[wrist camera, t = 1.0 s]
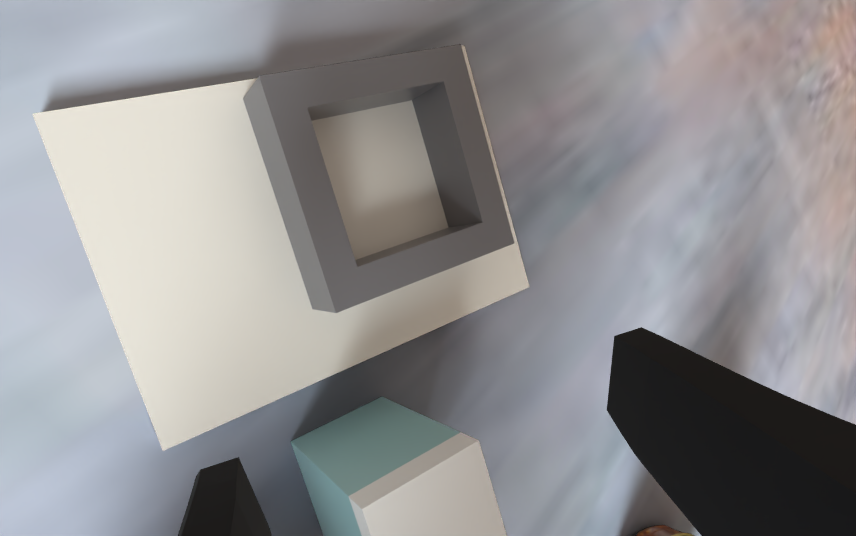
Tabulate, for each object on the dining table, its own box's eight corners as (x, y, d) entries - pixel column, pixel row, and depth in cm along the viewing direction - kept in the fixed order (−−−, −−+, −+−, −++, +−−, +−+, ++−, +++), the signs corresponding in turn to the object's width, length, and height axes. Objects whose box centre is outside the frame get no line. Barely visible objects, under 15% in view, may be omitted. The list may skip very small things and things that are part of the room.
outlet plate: (515, 286, 26) (568, 288, 23) (160, 442, 19) (169, 475, 16) (452, 53, 25) (499, 21, 22) (36, 122, 17) (19, 88, 14)
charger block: (409, 483, 23) (513, 556, 17) (323, 534, 21) (404, 636, 15) (381, 396, 23) (478, 440, 17) (290, 441, 21) (361, 509, 15)
